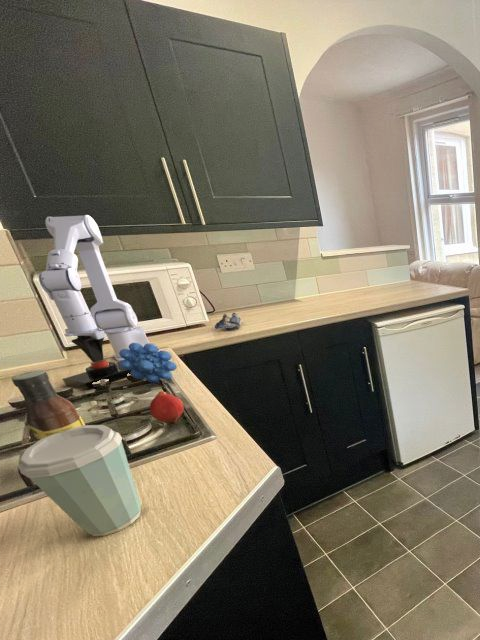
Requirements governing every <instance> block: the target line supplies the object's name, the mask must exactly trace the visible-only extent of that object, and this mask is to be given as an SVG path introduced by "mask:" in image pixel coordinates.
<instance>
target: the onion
mask: <svg viewBox="0 0 480 640" xmlns="http://www.w3.org/2000/svg"><path fill="white" fill-rule="evenodd" d="M149 404H150V405H149V412H150V415H151V416H152V417H153V419H155V420H157V421H161V422H164V423H170V424H174V423H176V422H177V421H178V420H179V418H180V417H181V416H182V415H183V413H184V410H185V407H184V402H183V401H182V400H181V398H179V397H177V396H175V395H173V394H170V393H166V392H165V391H163V390H159V391H158V393H157V394H156V396H155V397H154V398H153V399H152V400H151V402H150V403H149Z"/></svg>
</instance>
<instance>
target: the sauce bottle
mask: <svg viewBox="0 0 480 640" xmlns="http://www.w3.org/2000/svg"><path fill="white" fill-rule="evenodd" d="M11 381H12V384H13V385H14V386H15V387H16V388H18V390H19V391H20V394H21V395H22V396H23V399H24V402H25V412H26V424H27V425H28V427H29V429H30V430H31V432H32V433H33V435H34V436H35V438H36V440H37V442H38V441H39V440H41V439H43V438H46V437H48V436H51V435H53V434H56V433H59V432H62V431H65V430H68V429H72V428H76V427H80V426H84V425H86V424H85V421H84V420H83V418H82V417H81V415H80V414H79V413H78V411H77V409H76V407H75V405H74V403H72V402H71V401H70V400H68V399H67V398H65V397H62V395H61V396H60V395H59V394H58V393H57V390H56V389H55V388H54V387H53V385H52V383H51V381H50V377H49V374H48V373H47V371H46V370H43V369H36V370H35V369H34V370H30V371H25V372H22V373H19V374H16V375H14V376H12V377H11Z"/></svg>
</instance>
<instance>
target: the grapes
mask: <svg viewBox="0 0 480 640" xmlns="http://www.w3.org/2000/svg"><path fill="white" fill-rule="evenodd" d="M129 349H130V350H129ZM129 349H122V350H120V352H119V354H120V356H121V357H122V358H123V359H124V360H121V361H119V362H120V365H121V367H122V368H124V369H126V370H131V372H130V373H131V375H132V376H131V377H132V378H134V379H136V380H143V379H146V381H148V382H149V383H153V384H154V383H159V382H160V380H161V379H162V380H170V379H172V378H173V373H172V372H174V371H176V370H177V367H178V366H177V364H176V363H175V362H173V361H172V354H171V352H169V351H166V350H159V346H157V344H154V343H150V344H146V345H144V347H143V346H142V345H141V344H139V343H131V344H130V345H129Z"/></svg>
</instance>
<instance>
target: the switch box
mask: <svg viewBox="0 0 480 640" xmlns="http://www.w3.org/2000/svg"><path fill="white" fill-rule="evenodd" d="M120 362H121V361H116V362H115V361H108V363H109V365H108V366H106V367H102V368H97V369H93V368H92V366H91V365H90V366H88V367H86V368H85V372H81V373H78V374H75V375H71V376H68V377H65V378H62V381H63V383H64V385H65V386H66V387H68V388H69V387H70V388H75V389H80V390H86V391H91V390H94V389H97V388H98V387H93V385H92V383H93V382H97V381H99V380H101V379H109V382H110V383H109V384H112V383H114V382H117V381H120V380H124V379H127V378H128V377H127V374H128V373H129V374H131V373H130V372H131V370H126V369H124V368H122V367H121V365H120Z"/></svg>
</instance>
